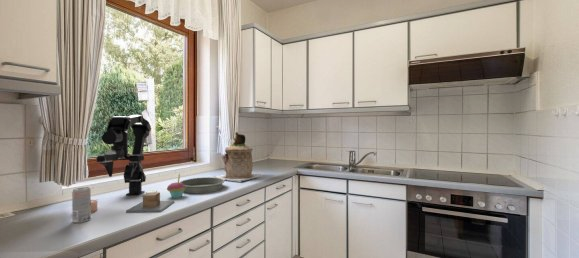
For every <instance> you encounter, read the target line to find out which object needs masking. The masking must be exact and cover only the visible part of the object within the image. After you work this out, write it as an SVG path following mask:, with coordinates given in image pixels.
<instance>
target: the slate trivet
mask: <svg viewBox="0 0 579 258" xmlns="http://www.w3.org/2000/svg"><path fill="white" fill-rule="evenodd" d="M174 203H175V200H160V204H158V205H157V206H155V207H143V201H140V202H139V203H137V204H135V205H133V206H131V207H130V208H128V209H126V210H125V213H162V212H163V211H164V210H165V209H167V208H169V207H170V206H172V205H173V204H174Z"/></svg>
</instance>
